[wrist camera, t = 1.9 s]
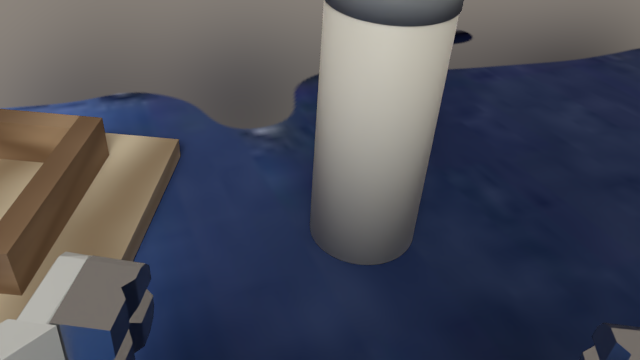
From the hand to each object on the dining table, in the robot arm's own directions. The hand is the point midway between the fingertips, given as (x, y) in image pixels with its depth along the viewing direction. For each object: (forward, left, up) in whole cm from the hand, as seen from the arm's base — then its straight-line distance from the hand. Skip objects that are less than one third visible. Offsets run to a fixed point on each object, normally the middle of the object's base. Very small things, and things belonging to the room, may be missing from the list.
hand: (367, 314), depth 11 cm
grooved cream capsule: (-1, -12, -9) cm, 15 cm away
